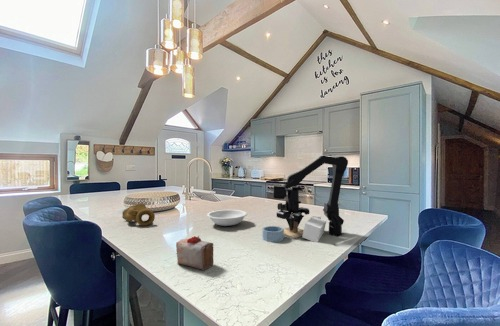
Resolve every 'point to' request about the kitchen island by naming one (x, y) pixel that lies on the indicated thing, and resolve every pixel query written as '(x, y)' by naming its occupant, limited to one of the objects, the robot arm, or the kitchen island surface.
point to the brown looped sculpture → (138, 214)
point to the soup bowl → (227, 217)
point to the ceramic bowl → (273, 234)
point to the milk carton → (314, 228)
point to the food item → (195, 253)
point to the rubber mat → (293, 238)
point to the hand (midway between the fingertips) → (293, 229)
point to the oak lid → (294, 231)
